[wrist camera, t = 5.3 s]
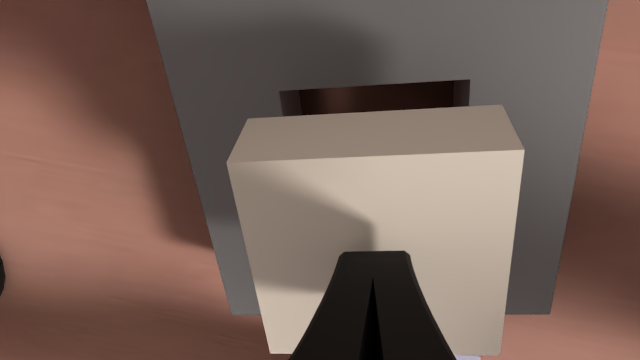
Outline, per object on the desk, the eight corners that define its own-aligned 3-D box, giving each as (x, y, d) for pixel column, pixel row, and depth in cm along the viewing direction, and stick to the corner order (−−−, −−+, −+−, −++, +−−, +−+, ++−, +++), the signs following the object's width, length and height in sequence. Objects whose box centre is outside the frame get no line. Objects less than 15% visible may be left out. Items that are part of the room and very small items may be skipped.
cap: (469, 231, 16) (499, 355, 12) (295, 235, 17) (270, 353, 13) (480, 60, 13) (524, 150, 9) (269, 74, 14) (226, 162, 10)
